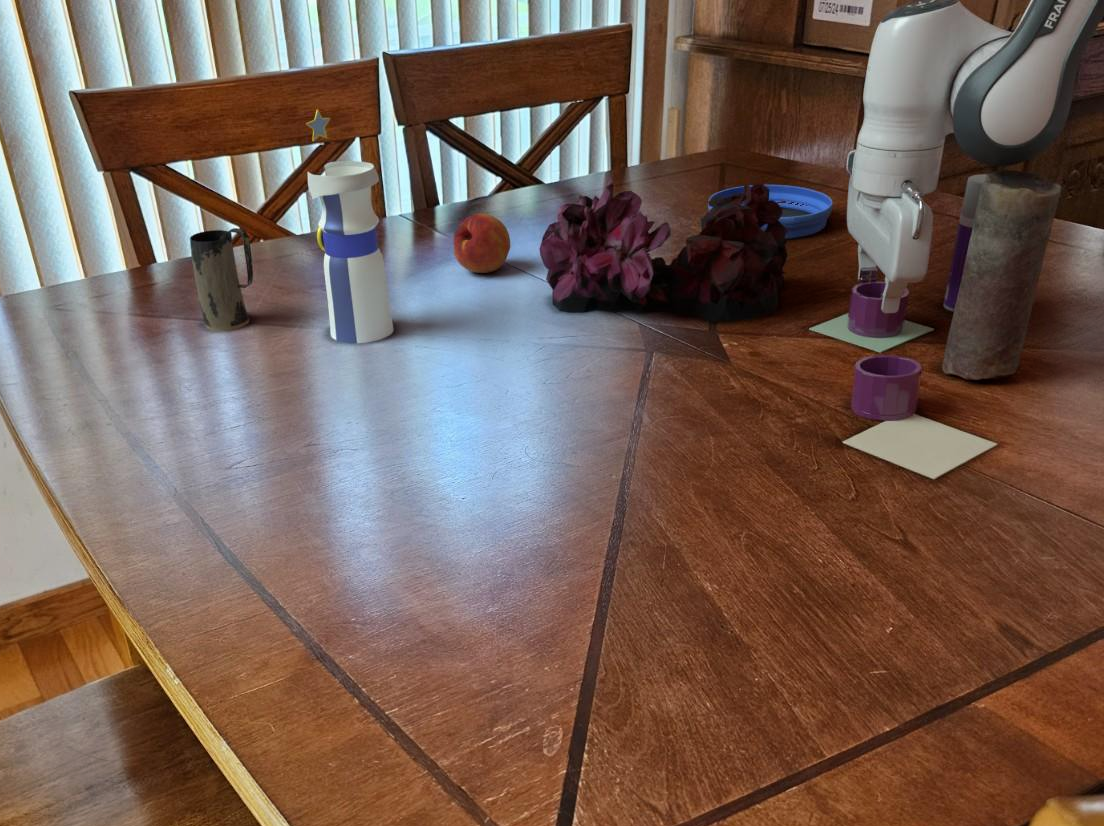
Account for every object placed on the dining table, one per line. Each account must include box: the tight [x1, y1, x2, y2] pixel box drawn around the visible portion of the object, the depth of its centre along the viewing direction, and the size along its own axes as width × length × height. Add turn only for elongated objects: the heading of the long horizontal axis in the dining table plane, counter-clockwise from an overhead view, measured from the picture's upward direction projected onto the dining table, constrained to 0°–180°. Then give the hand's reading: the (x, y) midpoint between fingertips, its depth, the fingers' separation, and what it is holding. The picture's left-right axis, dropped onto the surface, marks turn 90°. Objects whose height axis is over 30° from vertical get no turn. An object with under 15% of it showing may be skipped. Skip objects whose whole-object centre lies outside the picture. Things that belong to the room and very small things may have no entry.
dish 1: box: [847, 281, 910, 338], centre depth 126 cm, size 6×6×4 cm
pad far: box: [809, 312, 935, 354], centre depth 128 cm, size 10×10×1 cm
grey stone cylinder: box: [941, 169, 1062, 381], centre depth 111 cm, size 8×7×20 cm
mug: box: [189, 227, 254, 332], centre depth 135 cm, size 8×6×12 cm
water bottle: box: [305, 109, 394, 344], centre depth 127 cm, size 8×9×25 cm
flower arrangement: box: [539, 173, 788, 323], centre depth 135 cm, size 31×20×15 cm, turn 88°
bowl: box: [707, 184, 834, 240], centre depth 164 cm, size 18×18×4 cm
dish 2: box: [850, 354, 923, 422], centre depth 109 cm, size 6×6×4 cm
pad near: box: [842, 413, 999, 480], centre depth 103 cm, size 10×10×1 cm
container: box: [942, 173, 987, 313], centre depth 128 cm, size 5×5×15 cm
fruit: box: [453, 212, 511, 274], centre depth 149 cm, size 8×8×8 cm
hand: (877, 296), depth 125 cm, fingers open, 8 cm apart
